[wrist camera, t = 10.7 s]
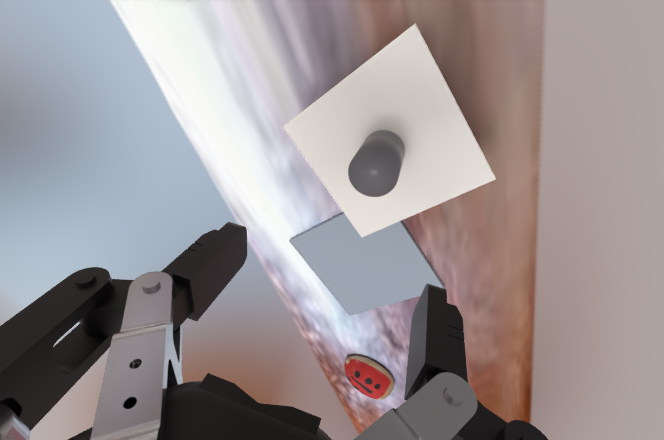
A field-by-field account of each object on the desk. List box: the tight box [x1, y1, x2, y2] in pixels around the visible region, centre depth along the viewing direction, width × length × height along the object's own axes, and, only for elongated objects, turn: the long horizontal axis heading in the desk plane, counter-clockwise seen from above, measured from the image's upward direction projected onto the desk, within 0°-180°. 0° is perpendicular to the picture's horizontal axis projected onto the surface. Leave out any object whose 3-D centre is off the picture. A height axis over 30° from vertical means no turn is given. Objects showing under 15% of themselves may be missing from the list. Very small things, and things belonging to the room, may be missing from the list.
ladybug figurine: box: [344, 356, 394, 399], centre depth 52 cm, size 7×10×4 cm
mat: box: [290, 212, 444, 316], centre depth 41 cm, size 15×15×1 cm
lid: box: [283, 24, 496, 237], centre depth 24 cm, size 13×13×6 cm
